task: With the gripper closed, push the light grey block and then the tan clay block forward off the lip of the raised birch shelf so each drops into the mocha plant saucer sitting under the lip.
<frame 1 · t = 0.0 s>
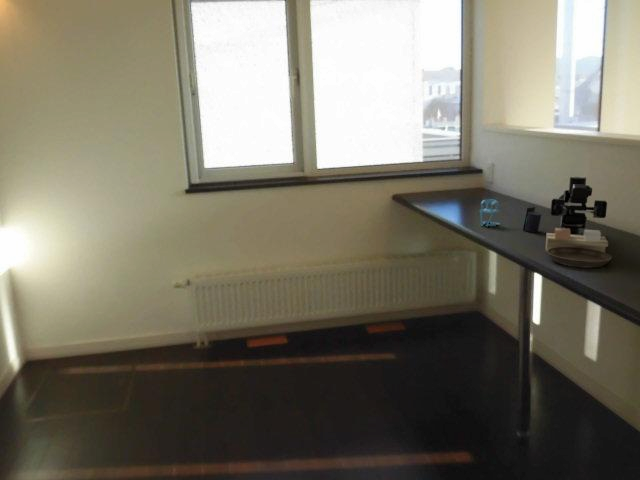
hand: (580, 211, 210), 17 cm above the table, tool horizontal, fingers open, 9 cm apart
light grey block: (591, 239, 215), point 6 cm above the table, touching board
plant saucer: (577, 262, 208), on the table
tan clay block: (561, 237, 218), point 6 cm above the table, touching board
board: (574, 253, 219), on the table
speaker: (532, 231, 259), on the table
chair: (488, 225, 273), on the table
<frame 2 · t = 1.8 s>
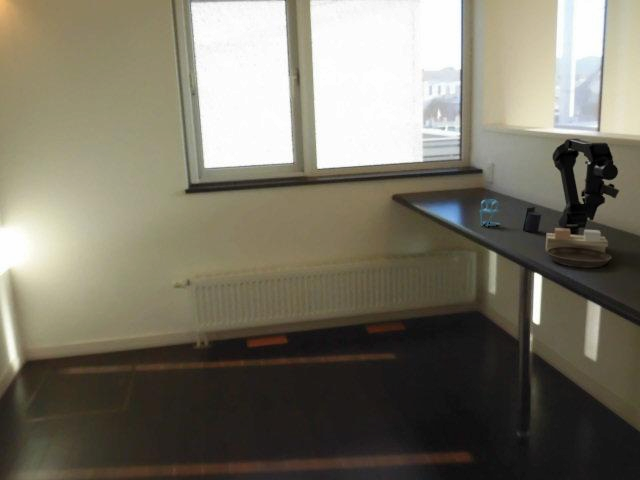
hand: (590, 218, 222), 12 cm above the table, tool pointing down, fingers open, 5 cm apart
nothing on the table moved.
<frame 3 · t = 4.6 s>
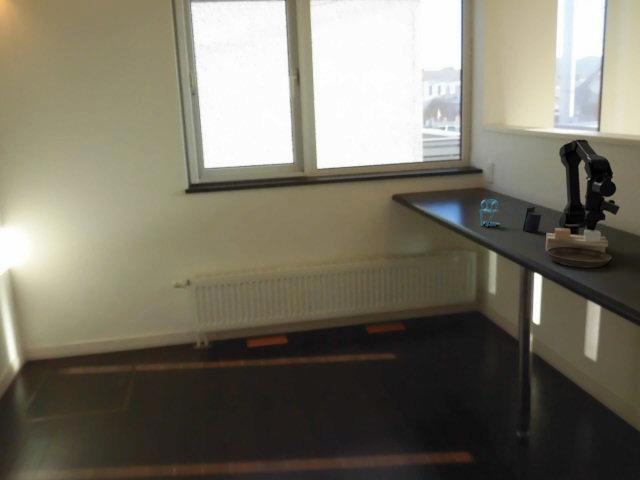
hand: (590, 235, 219), 7 cm above the table, tool pointing down, fingers closed
light grey block: (591, 239, 215), point 6 cm above the table, touching gripper
everything else where it was.
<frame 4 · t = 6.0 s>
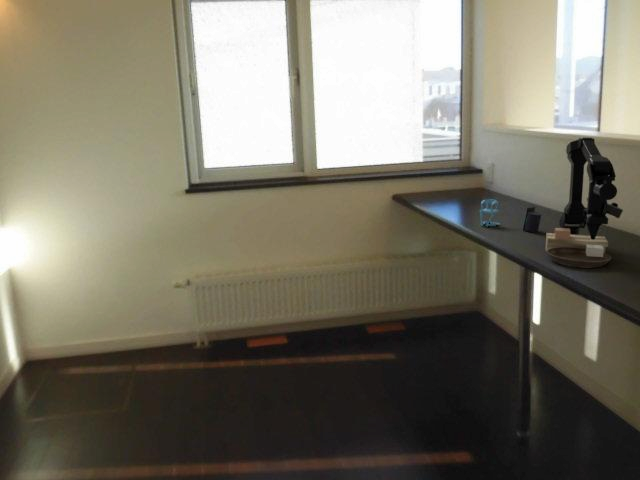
hand: (592, 239, 212), 7 cm above the table, tool pointing down, fingers closed
light grey block: (594, 246, 204), point 6 cm above the table, tilted 180°, touching plant saucer
plant saucer: (577, 263, 208), on the table, touching light grey block
everything else where it was.
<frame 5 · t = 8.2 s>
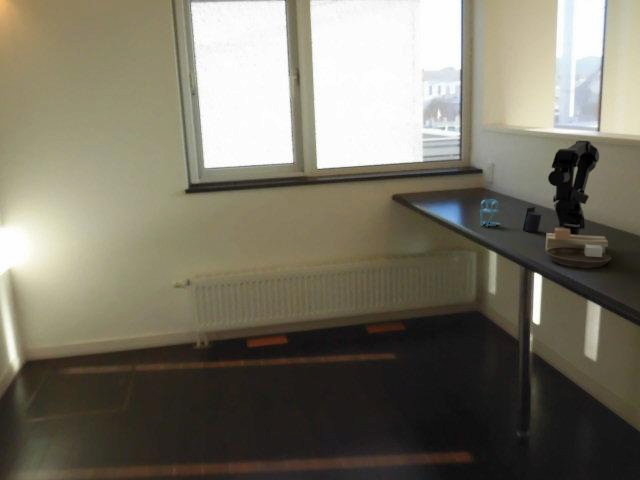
hand: (561, 224, 225), 9 cm above the table, tool pointing down, fingers closed
nothing on the table moved.
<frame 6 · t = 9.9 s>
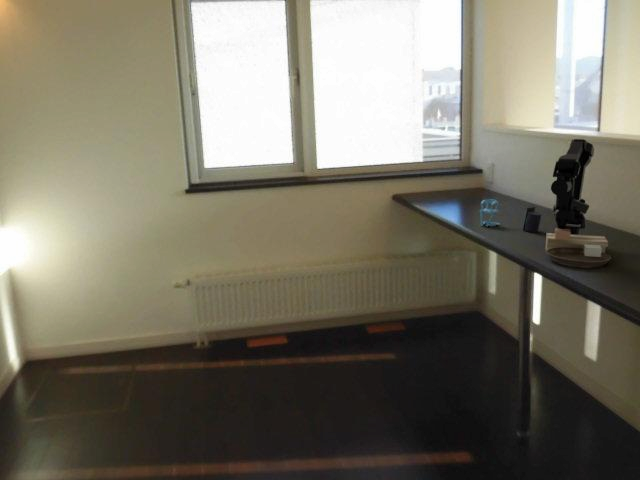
hand: (561, 234, 221), 7 cm above the table, tool pointing down, fingers closed
tan clay block: (562, 237, 217), point 6 cm above the table, touching board, gripper
everything else where it was.
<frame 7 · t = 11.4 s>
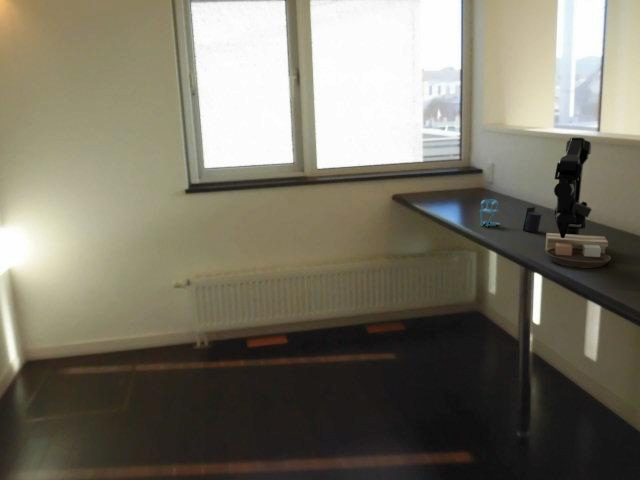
hand: (562, 237, 215), 7 cm above the table, tool pointing down, fingers closed
plant saucer: (577, 263, 208), on the table, touching tan clay block, light grey block
tan clay block: (563, 245, 207), point 6 cm above the table, tilted 180°, touching plant saucer
everything else where it was.
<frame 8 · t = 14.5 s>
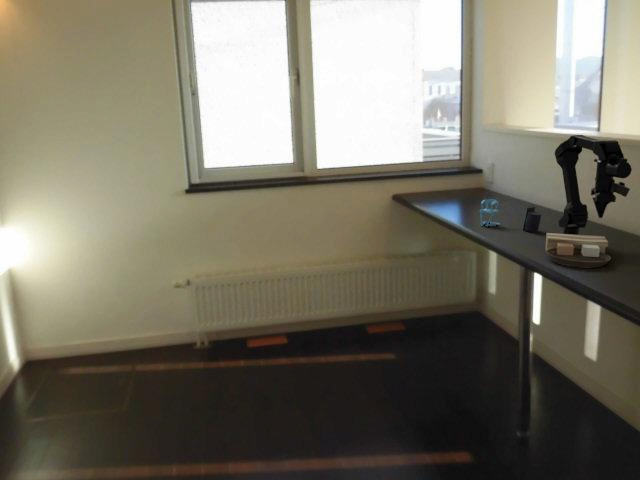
hand: (600, 217, 218), 13 cm above the table, tool pointing down, fingers closed
at the end: light grey block inside the target area on the plant saucer (3.8 cm from its centre), point 6.5 cm above the plant saucer's base; tan clay block inside the target area on the plant saucer (4.4 cm from its centre), point 6.5 cm above the plant saucer's base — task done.
